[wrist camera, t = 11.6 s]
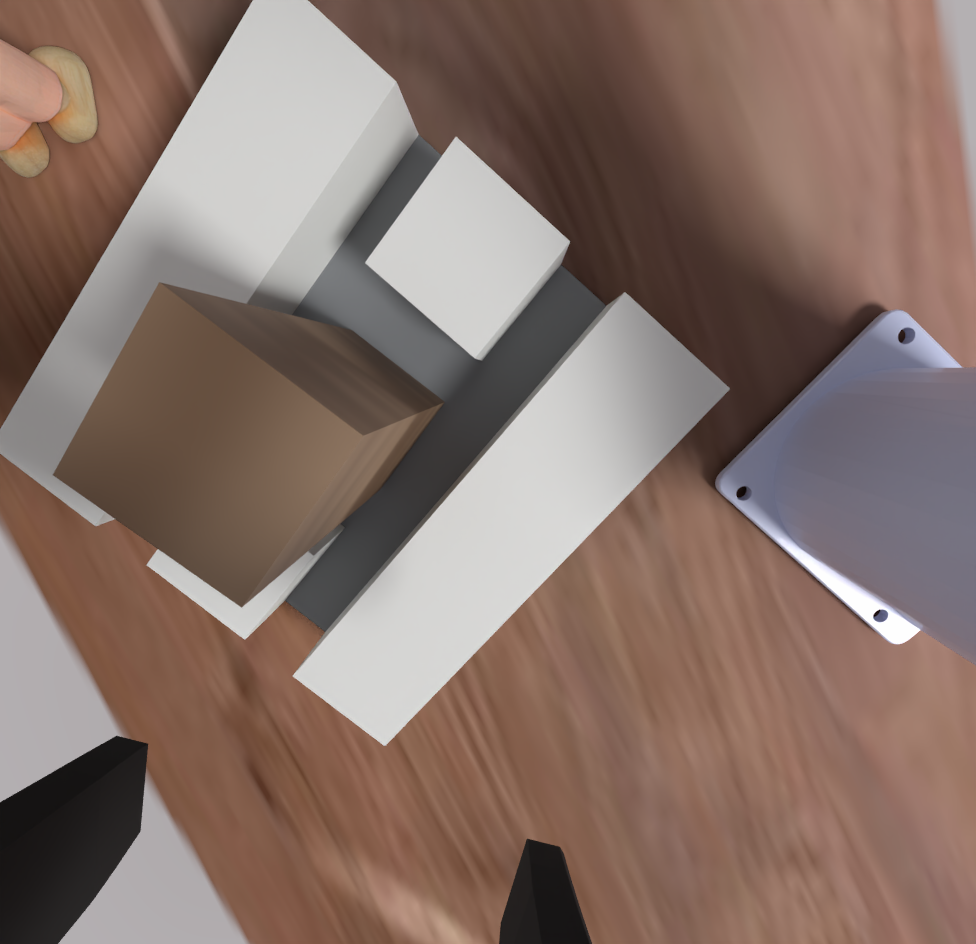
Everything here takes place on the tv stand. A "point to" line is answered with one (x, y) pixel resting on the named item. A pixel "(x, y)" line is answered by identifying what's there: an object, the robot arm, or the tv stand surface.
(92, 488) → the walnut pin
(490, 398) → the socket block
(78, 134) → the grandmother figurine
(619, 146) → the tv stand surface
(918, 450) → the robot arm
